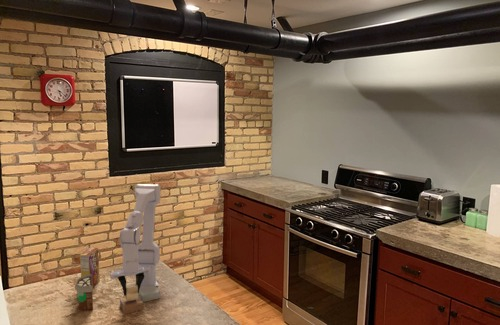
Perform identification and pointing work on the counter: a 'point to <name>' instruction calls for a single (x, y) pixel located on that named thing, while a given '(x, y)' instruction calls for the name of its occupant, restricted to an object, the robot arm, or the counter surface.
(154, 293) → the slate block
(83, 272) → the candy box
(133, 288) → the maple cube
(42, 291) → the counter surface
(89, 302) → the food container
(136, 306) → the walnut block
